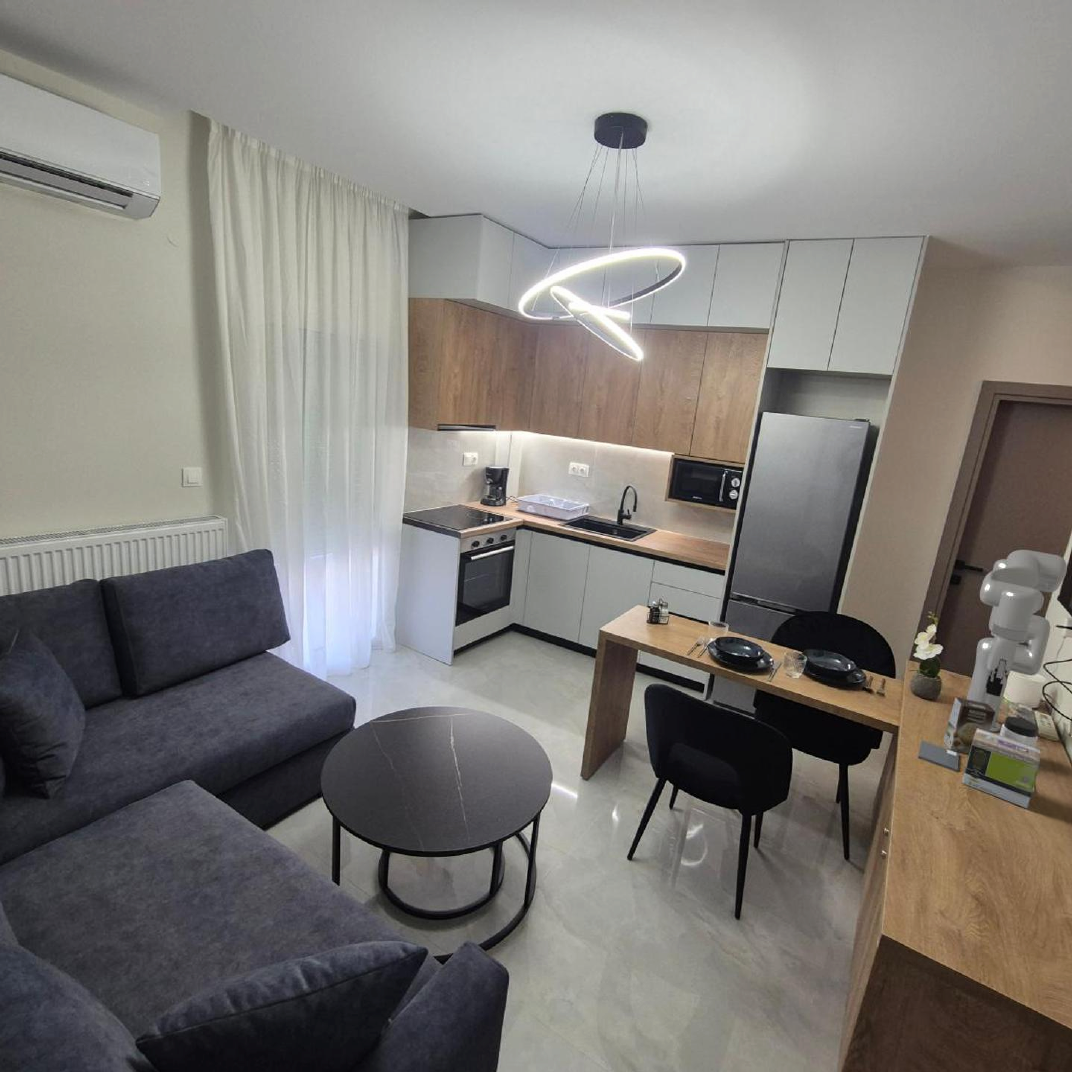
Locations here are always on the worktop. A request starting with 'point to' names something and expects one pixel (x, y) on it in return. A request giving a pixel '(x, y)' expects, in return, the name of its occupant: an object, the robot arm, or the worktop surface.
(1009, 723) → the jar
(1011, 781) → the tea box
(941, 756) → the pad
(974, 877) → the worktop surface
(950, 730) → the coffee box
